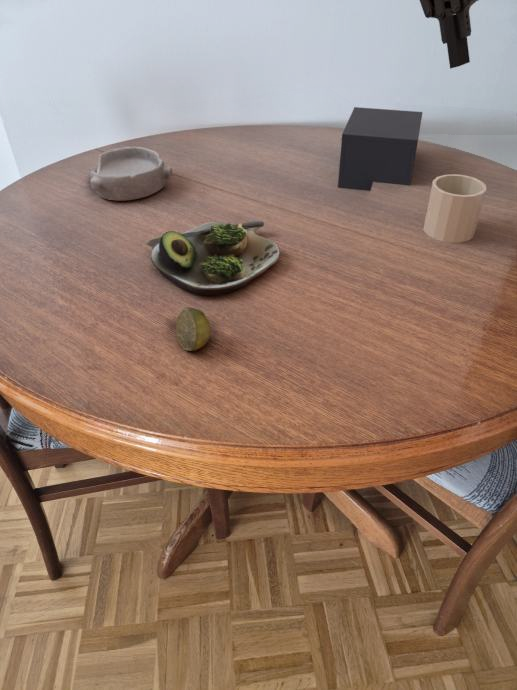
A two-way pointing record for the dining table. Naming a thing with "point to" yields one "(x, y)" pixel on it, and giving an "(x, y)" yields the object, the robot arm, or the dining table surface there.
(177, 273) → the salad plate
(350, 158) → the cabinet
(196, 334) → the lime
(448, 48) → the robot arm
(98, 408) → the dining table surface
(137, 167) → the dish
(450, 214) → the cup
